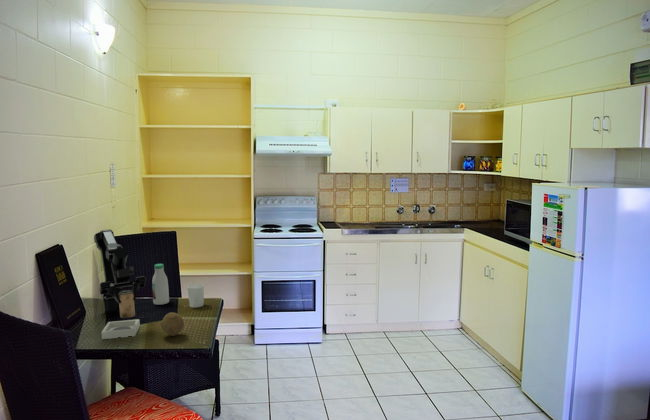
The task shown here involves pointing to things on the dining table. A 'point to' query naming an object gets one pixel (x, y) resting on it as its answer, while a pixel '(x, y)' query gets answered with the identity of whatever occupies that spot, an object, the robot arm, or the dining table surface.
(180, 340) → the dining table surface
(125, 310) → the spout can
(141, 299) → the dining table surface
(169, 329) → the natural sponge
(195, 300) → the white cup
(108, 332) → the tray
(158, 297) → the milk bottle
